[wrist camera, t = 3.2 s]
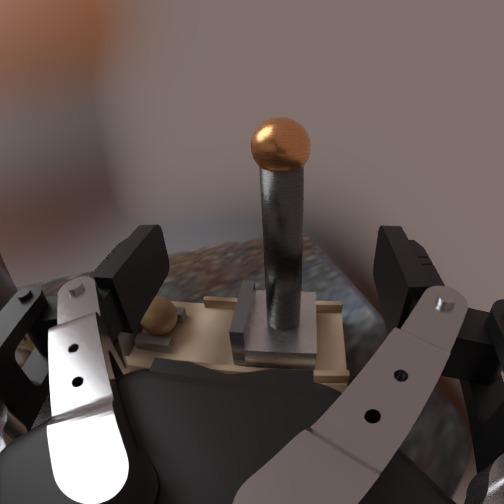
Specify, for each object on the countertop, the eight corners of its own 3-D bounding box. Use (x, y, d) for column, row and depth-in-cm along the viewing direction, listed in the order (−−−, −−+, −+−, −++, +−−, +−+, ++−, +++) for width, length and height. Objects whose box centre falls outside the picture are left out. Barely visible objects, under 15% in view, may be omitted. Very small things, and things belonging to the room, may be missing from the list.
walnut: (148, 347, 29) (136, 319, 27) (141, 322, 32) (131, 294, 30) (185, 336, 31) (177, 306, 29) (175, 312, 34) (167, 283, 32)
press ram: (233, 368, 27) (199, 130, 16) (246, 310, 34) (228, 112, 23) (314, 373, 26) (331, 127, 15) (314, 312, 33) (321, 111, 22)
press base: (108, 370, 29) (82, 323, 26) (141, 310, 38) (126, 264, 34) (344, 396, 26) (357, 347, 22) (338, 322, 34) (346, 271, 31)
